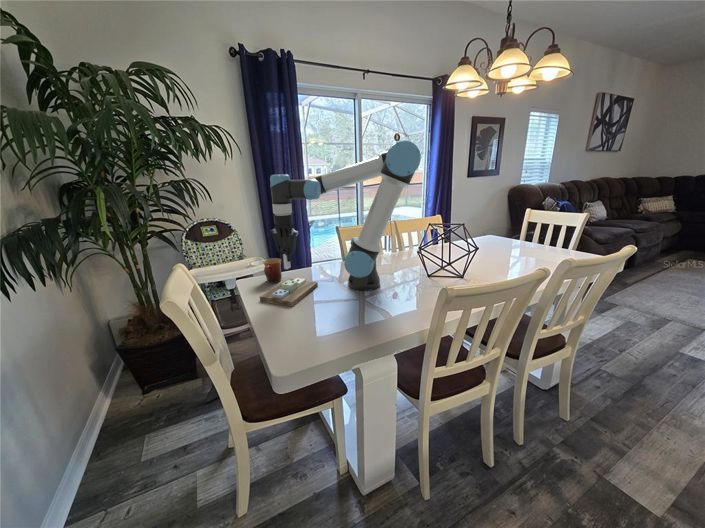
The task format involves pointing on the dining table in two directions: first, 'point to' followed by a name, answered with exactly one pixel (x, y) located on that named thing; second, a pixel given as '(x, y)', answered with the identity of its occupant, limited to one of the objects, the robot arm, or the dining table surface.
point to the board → (293, 296)
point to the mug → (272, 269)
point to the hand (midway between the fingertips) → (287, 268)
